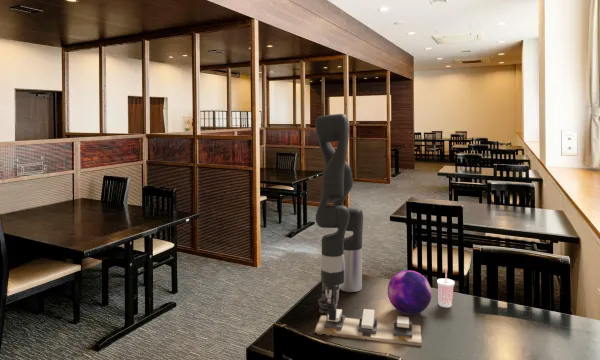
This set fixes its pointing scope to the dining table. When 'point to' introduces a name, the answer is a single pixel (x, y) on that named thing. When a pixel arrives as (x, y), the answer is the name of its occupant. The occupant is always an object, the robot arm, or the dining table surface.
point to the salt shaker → (323, 300)
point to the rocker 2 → (368, 319)
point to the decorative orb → (409, 292)
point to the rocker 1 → (338, 315)
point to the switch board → (370, 330)
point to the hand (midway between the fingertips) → (332, 319)
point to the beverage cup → (445, 291)
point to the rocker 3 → (403, 322)
